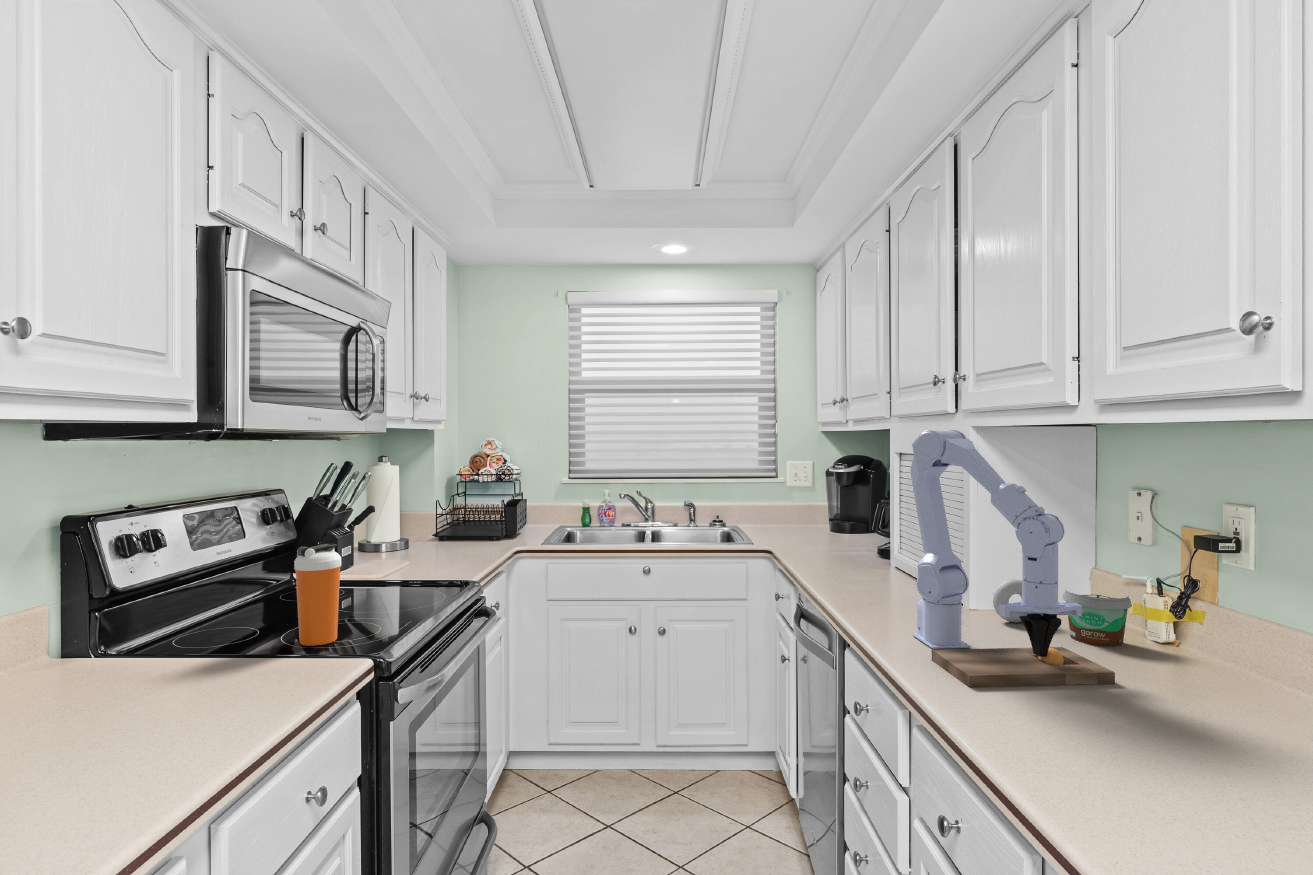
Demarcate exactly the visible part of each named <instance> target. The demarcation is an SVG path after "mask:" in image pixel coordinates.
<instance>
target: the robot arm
mask: <svg viewBox="0 0 1313 875" xmlns="http://www.w3.org/2000/svg"><path fill="white" fill-rule="evenodd" d="M911 446H912V452H913V456H912V460H911V466H910V479H911V483H912V491H913V497H914V501H915V508H916V514H917V519H918V526H919V530H920V531H919V533H920V537H921V544H922V550H923V556H922V557H921V559H920V560H919V562H918V563H917V565H916V566H917V577H916V581H915V582H916V589H917V592H918V593H919V595H920V596H921V599H919V601H918V603H917V606H916V621H917V622H916V632H914V633H912V636H913V637H914V638H916V639H918V640H919V641H921V642H922V643H923V644H925V645H926V646H928V647H929V648H931V649H932V650H942V649H971V645H970V644H968V643H967V642H965V641H963V640H962V601H963V595H964V594H965V593H966V592H967V591H968V589H969V584H970V582H969V577H968V575H967V573H966V572H965V570H964V569H963V568H964V567H963V566H962V561H961V559H960V558H959V557H958V556H957V555H956V554H955V553H954V552H953V549H952V543H951V537H950V532H949V531H950V530H949V526H948V520H947V514H946V509H945V503H944V498H943V491H942V487H941V485H942V484H941V480H940V477H941V476H942V474H943V473H944V472H945V471H946V470H947V468H949V467H950V466H951V465H953V466H958V467H961V468H962V469H963V470H965V471H966V472H967V473H968V475H970V476H971V477H972V478H973V479H974V480H975V481H976V482H978V483H979V484H980V485H981V486H982V487H983V488H984V489H985V490H986V491H987V492H988V493H990V503H991V505H992V506H993V507H994V508H995V509H996V510H997V512H999V513H1000V514H1001V516H1002V517H1004V518H1005V519H1006V520H1007V521H1008V522H1009V524H1010V525H1012V527H1013V528H1014V529H1015V532H1014V533H1015V537H1016V539H1017V540H1018V542H1019V543H1020V545H1021V553H1022V568H1021V570H1022V572H1021V574H1022V579H1021V580H1022V599H1021V601H1022V602H1021V601H1018V602H1017V601H1016V602H1011V603H1010V602H1009V604H999V615H1001V616H1003V617H1010V616H1020V619H1021V621H1022V622H1021V623H1022V624H1023V626H1024V629H1025V630H1026V632H1027V635H1028V638H1029V641H1030V644H1031V648H1032V649H1033V653H1034V654H1035V655H1037V656H1039V657H1047V653H1048V649H1049V647H1051V644H1052V641H1053V638H1054V636H1055V634H1056V633H1057V631H1058V630H1059V628H1060V627H1061V626H1062V619H1061V618H1060V617H1058V616H1068V615H1075V616H1082V606H1081V605H1079V604H1076V603H1066V602H1061V601H1060V602H1059V543H1060V542H1061V541H1062V540H1063V538H1064V536H1065V528H1064V524H1063V523H1062V521H1061V520H1060V519H1059V518H1060V517H1059V516H1057V515H1055V514H1053V513H1049V512H1048V513H1047V512H1046V510H1045V508H1044V507H1043V506H1039V505H1038V504H1037V503H1036V502H1035V501H1034V500H1033V499H1032V498H1031V497H1030V496H1029V495H1028V494H1027V493H1026V492H1027V489H1026V488H1025V487H1024V486H1022V485H1018V484H1017V483H1013V482H1006V481H1005V480H1004V479H1003V478H1002V477H1001V475H999V473H998V472H997V471H996V470H995V468H993V466H991V464H990V463H989V462H988V461H987V460H986V459H985V457H984V456H982V454H981V453H980V452H979V451H978V449H976V446H975V444H974V443H973V441H972V440H970V439H969V438H967V436H966V435H965V434H964V433H963V432H961V431H960V430H957V429H952V430H951V429H949V430H933V429H926V430H924V431H921V433H919V435H918V436H917V437H916V438H915V440H914V441H913V442H912V444H911ZM999 615H998V616H999Z"/></svg>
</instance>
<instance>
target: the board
mask: <svg viewBox="0 0 1313 875" xmlns="http://www.w3.org/2000/svg"><path fill="white" fill-rule="evenodd" d="M1049 648H1054V649H1056V650H1058V651H1059V652H1060V653H1061V654H1062V656H1063V660H1064V662H1063V665H1049V664H1048V663H1046V662H1044V661H1042V660H1040V659H1038V656H1037V655H1035V654H1034V653H1033V649H1032V647H1004V648H1002V647H1000V648H996V647H995V648H991V647H990V648H946V649H931V661H932V662H934V663H935V664H936V665H938V666H939V667H940V668H942V669H943V670H944V671H946V672H948V673H949V674H950V675H951V676H953V677H954V678H956V679H957V680H958V681H960V682H961V683H963V684H964V685H966V686H967V687H968V688H990V687H991V688H992V687H993V688H995V687H998V688H999V687H1031V686H1032V687H1033V686H1034V687H1035V686H1036V687H1038V686H1041V687H1042V686H1043V687H1044V686H1076V685H1075V684H1087V685H1114V684H1116V682H1115V681H1116V672H1115V671H1114V670H1111V669H1109V668H1107V667H1105V666H1103V665H1101V664H1098V663H1097V662H1095V661H1092V660H1090V659H1088V658H1086V657H1083V656H1082V655H1080V654H1078V653H1075V652H1073V651H1071V650H1070V649H1068V648H1065V647H1063V646H1052V647H1051V646H1049Z"/></svg>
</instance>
